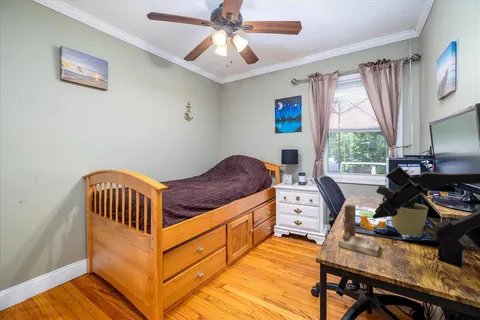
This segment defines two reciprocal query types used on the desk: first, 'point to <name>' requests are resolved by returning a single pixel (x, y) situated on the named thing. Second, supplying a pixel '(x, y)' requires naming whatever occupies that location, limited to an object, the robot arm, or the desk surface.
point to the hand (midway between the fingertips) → (374, 214)
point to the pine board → (360, 244)
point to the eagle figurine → (430, 232)
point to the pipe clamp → (368, 225)
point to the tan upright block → (349, 221)
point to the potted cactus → (410, 217)
